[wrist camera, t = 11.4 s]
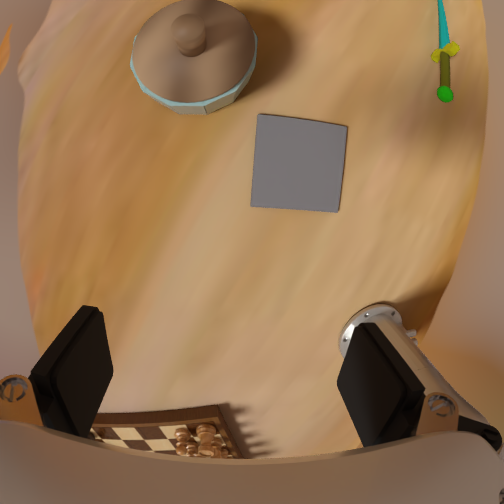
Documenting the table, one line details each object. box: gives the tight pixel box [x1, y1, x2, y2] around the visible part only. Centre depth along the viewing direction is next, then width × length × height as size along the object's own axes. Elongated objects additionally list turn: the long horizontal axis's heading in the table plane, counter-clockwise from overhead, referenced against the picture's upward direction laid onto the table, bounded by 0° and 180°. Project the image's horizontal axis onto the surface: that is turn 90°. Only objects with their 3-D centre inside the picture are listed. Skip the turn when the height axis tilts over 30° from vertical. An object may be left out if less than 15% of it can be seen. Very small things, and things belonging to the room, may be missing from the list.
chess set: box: [87, 405, 244, 459], centre depth 50 cm, size 40×40×15 cm
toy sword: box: [431, 0, 460, 102], centre depth 28 cm, size 3×6×30 cm
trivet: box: [251, 114, 347, 213], centre depth 36 cm, size 12×12×1 cm
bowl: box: [130, 14, 258, 115], centre depth 27 cm, size 13×13×8 cm
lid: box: [132, 0, 255, 103], centre depth 21 cm, size 12×12×6 cm
